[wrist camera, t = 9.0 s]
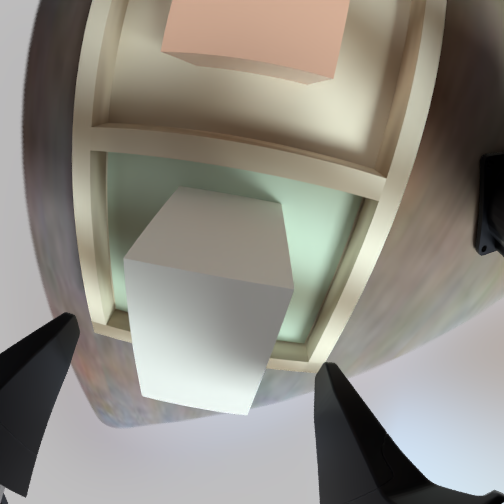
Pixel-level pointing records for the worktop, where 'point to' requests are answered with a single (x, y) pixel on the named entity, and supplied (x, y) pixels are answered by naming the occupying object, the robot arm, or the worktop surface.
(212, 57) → the terracotta block
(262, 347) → the block
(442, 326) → the worktop surface
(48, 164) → the worktop surface
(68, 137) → the worktop surface
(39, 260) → the worktop surface
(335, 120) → the slot cradle
